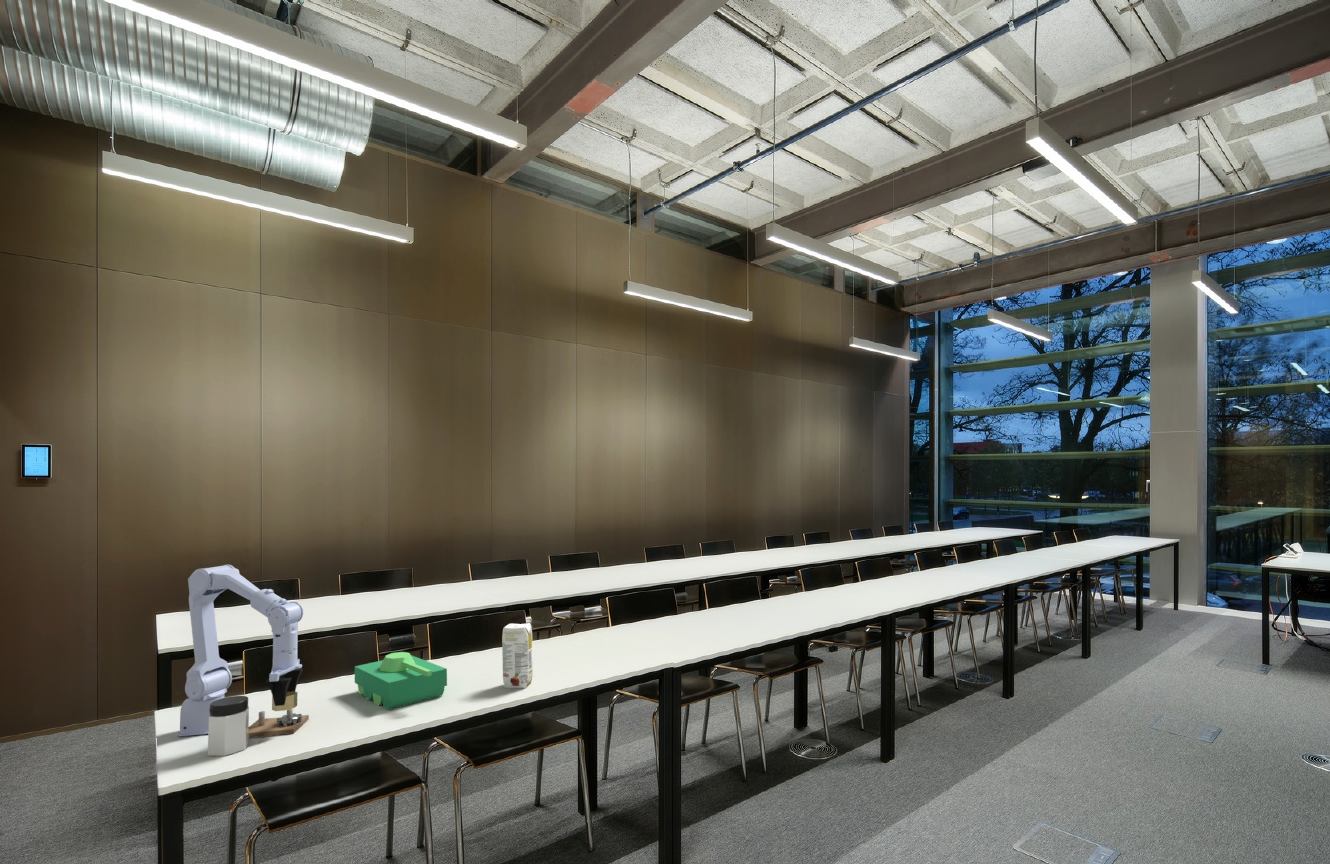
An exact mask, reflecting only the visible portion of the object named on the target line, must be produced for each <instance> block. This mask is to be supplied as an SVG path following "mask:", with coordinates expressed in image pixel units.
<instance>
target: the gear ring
mask: <svg viewBox="0 0 1330 864" xmlns="http://www.w3.org/2000/svg"><path fill="white" fill-rule="evenodd" d="M298 695H299V694H298V691H287V695H286V701H285V704H284V705H281V706H275V703H274V700H273V696H272V695H271V698H272V699H271V711H274V712H282V711H283V712H285V711H287V710H289V709H295V708H296V707H297V706H298Z"/></svg>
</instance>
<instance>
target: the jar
mask: <svg viewBox="0 0 1330 864" xmlns="http://www.w3.org/2000/svg"><path fill="white" fill-rule="evenodd" d="M249 709H250V706H249V696H246V695H233V696H227V697H226V696H225V697H224V698H222V699H219V700H216V701H214V702H212V703H211V704H210V708H209V711H210V716H209V728H208V734H207V735H208V737H207V739H208V741H207V749H208V750H207V756H208V757H210V756H211V757H226V756H229V755H232V754H235V753H239V752H243V751H245V750H246V748H247V746H248V745H249V738H248V732H249V726H250V725H249V724H250V723H249V721H250V720H249V719H250V715H249V714H250V713H249V712H250V710H249Z"/></svg>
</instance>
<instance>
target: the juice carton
mask: <svg viewBox="0 0 1330 864" xmlns="http://www.w3.org/2000/svg"><path fill="white" fill-rule="evenodd" d="M501 643H502V647H501V648H502V651H501V652H502V655H501V656H502V682H503V687H504V689H526V688H527V687H528V686H529V685H531V683H532V681H533V674H534V671H533V670H534V667H533V665H534V663H533V662H534V661H533V659H534V658H533V630H532V624H531V623H530V622H529V623H528V622H527V623H521V624H520V623H508V624H507V625H505V626H504V627H503V629H502V637H501Z"/></svg>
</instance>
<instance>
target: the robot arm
mask: <svg viewBox="0 0 1330 864" xmlns="http://www.w3.org/2000/svg"><path fill="white" fill-rule="evenodd" d="M187 583H188V591H189V595H188V606H189V613H190V615H189V617H190V624H191V635H192V644H193V653H194V655H193V656H194V663H193V665H192V667H190V669H189V670H187V672H186V682H185V684H184V685H185V686H184V691H185V694H186V697H187V698H186V699H185V700H184V701H183V702H182V704H181V707H180V713H179V714H180V715H179V733H178V736H177V737H187V736H189V737H190V736H198V735H199V736H200V735H208V728H209V716H210V711H209V708H210V704H211V703H212V702H214V701H216V700H219V699H222V698H225V693H228V689H229V688H230V686H231V685H232V683H233V682H232V681H233V676H232V672H231V671H230V669H229V664H228V662H227V661H226V660H225V659H223V658H221V657H220V654H219V653H220V652H219V651H220V650H219V644H218V643H219V642H218V641H219V640H218V635H217V634H218V633H217V632H218V631H217V623H216V617H215V616H216V614H215V606H214V601H215V599H216V598H217V597H219V595H220V594H222V593H223V592H225V591H226V590H230V591H232V592H234V593H236V594H238V596H241V597H243V598H245V599H247V600H248V601H250V603H249V605H250V607H251V608H252V609H253V610H255V611H257V612H258V613H260V614H261V615H263V616H264V617H266V618H267V620H268V621H267V622H268V623H269V626H270V627H271V633H272V635H273V637H272V642H273V643H272V667H271V672H270V673H269V678H267V679H266V681H265V684H266V685H267V687H268V688H269V690H270V692H271V697H272V696H273V700H274V703H275V706H281V705H284V704H285V701H286V695H287V691H295V692H297V686H298V683H299V680H300V677H301V675H302V673H303V671H304V668H302V667H303V664H302V663H301V664H300V661H301V660H300V658H298V644H299V643H298V635H299V622H300V621H301V620H302V619H303V615H304V609H303V607H302V605H301V604H300V603H298V602H297V601H291V602H290V601H288V600H287V599H285V598H282V597H281V596H279V595H277V594H275V592H274V589H272V588H268V589H267V588H264V589H263V588H262V589H260V588H259V587H257V586H256V585H255V584H253V583H252V582H250V581H249V580H248V579H246V578H245V577H244V576H243V575H241V574H240V570H239V569H238V568H236V567H234V565H232V564H223V565H219V566H213V567H205V568H197V569H195V570H194V571H193V572H192V573H191V574H190V576H189V577H188V578H187Z"/></svg>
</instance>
